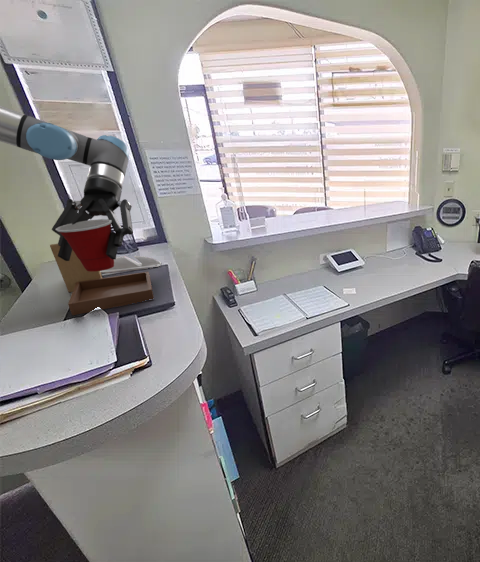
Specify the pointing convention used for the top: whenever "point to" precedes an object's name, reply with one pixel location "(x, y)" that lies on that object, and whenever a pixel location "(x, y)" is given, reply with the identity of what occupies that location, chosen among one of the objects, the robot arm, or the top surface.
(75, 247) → the plastic cup
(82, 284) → the tray
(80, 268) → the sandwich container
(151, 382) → the top surface
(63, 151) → the robot arm
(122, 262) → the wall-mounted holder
